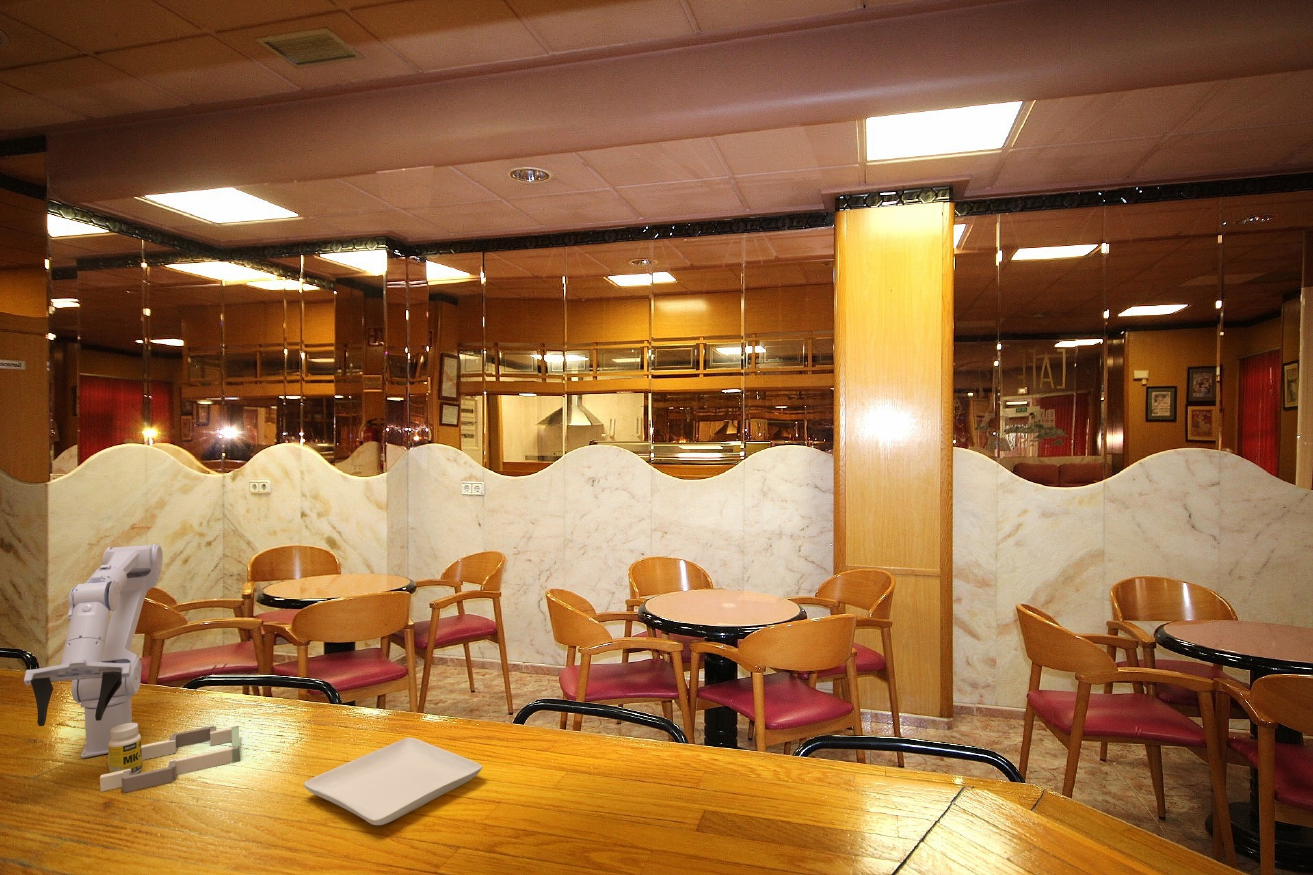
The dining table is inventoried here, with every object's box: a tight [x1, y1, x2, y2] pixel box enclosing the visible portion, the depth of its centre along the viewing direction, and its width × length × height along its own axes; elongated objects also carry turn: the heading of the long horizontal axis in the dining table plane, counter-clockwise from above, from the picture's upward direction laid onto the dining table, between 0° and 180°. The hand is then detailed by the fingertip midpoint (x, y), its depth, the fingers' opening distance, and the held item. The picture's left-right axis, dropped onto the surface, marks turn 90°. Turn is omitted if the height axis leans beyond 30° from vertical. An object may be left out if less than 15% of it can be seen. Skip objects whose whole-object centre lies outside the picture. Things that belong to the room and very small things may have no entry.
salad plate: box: [303, 737, 484, 826], centre depth 123 cm, size 21×21×3 cm
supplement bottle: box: [108, 722, 143, 775], centre depth 130 cm, size 5×5×8 cm
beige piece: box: [99, 725, 241, 794], centre depth 134 cm, size 17×21×2 cm
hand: (69, 721), depth 123 cm, fingers open, 7 cm apart
